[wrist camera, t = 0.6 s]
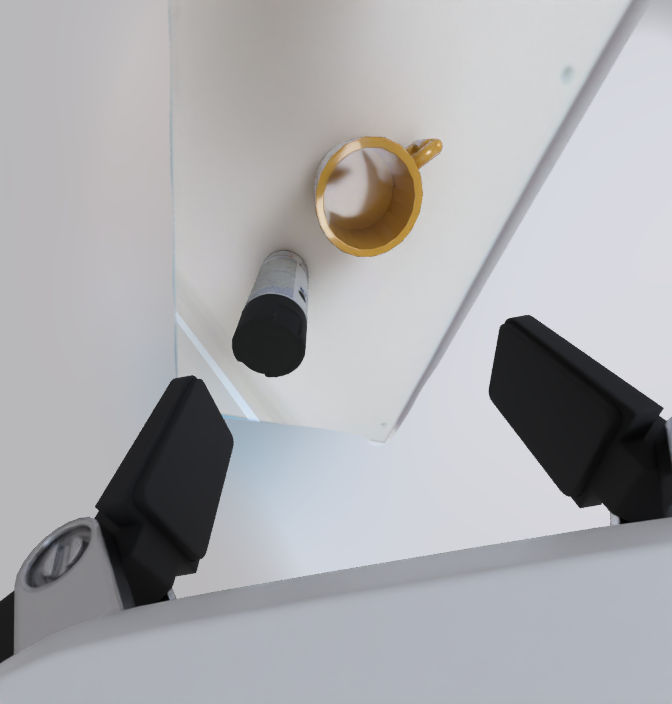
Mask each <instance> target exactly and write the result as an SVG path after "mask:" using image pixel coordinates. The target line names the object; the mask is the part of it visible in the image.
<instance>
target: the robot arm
mask: <svg viewBox="0 0 672 704" xmlns="http://www.w3.org/2000/svg"><path fill="white" fill-rule="evenodd" d="M489 396H490V399H491V400H492V402H493V403H494V405H495V406H496V407H497V408H498V410H499V411H500V412H501V414H502V415H503V416H504V418H505V419H506V420H507V422H508V423H509V424H510V425H511V427H512V428H513V429H514V431H515V432H516V433H517V435H518V436H519V437H520V438H521V440H522V441H523V442H524V444H525V445H526V446H527V448H528V449H529V450H530V452H531V453H532V454H533V455H534V457H535V458H536V459H537V461H538V462H539V463H540V465H541V466H542V467H543V468H544V470H545V471H546V472H547V474H548V475H549V476H550V478H551V479H552V480H553V481H554V483H555V484H556V485H557V487H558V488H559V489H560V490H561V491H562V492H563V494H565V495H566V496H571V498H572V499H573V500H574V501H575V502H576V504H577V505H578V506H579V508H584V507H589V506H596V505H601V503H603V504H604V505H605V506H606V507H607V508H608V510H609V511H610V526H606V527H599V528H593V529H588V530H580V531H574V532H568V533H562V534H557V535H550V536H543V537H537V538H531V539H525V540H519V541H513V542H507V543H501V544H494V545H488V546H482V547H476V548H470V549H464V550H458V551H452V552H446V553H440V554H434V555H428V556H422V557H416V558H410V559H404V560H398V561H392V562H386V563H380V564H374V565H368V566H362V567H356V568H350V569H345V570H338V571H332V572H327V573H321V574H315V575H309V576H303V577H298V578H292V579H287V580H280V581H274V582H269V583H263V584H257V585H251V586H246V587H240V588H234V589H228V590H222V591H217V592H211V593H206V594H201V595H196V596H190V597H186V598H180V599H176V597H175V594H174V592H173V589H172V586H173V583H174V580H175V577H176V576H181V575H187V574H193V573H196V571H197V567H198V563H199V560H200V559H202V558H203V557H204V556H205V554H206V551H207V547H208V544H209V540H210V536H211V532H212V528H213V524H214V520H215V516H216V512H217V508H218V504H219V500H220V496H221V492H222V488H223V484H224V481H225V477H226V472H227V469H228V465H229V461H230V457H231V453H232V449H233V437H232V434H231V432H230V430H229V429H228V427H227V425H226V423H225V421H224V419H223V417H222V415H221V413H220V412H219V410H218V408H217V406H216V404H215V402H214V400H213V398H212V396H211V395H210V393H209V391H208V389H207V387H206V385H205V383H204V382H203V380H202V379H197V378H196V377H195V376H193V375H191V376H186V377H180V378H175V379H173V380H172V381H171V382H170V384H169V386H168V387H167V389H166V391H165V392H164V394H163V395H162V397H161V399H160V401H159V402H158V404H157V405H156V407H155V409H154V410H153V412H152V414H151V415H150V417H149V419H148V420H147V422H146V423H145V425H144V427H143V428H142V430H141V432H140V433H139V435H138V437H137V438H136V440H135V442H134V444H133V445H132V447H131V448H130V450H129V451H128V453H127V455H126V456H125V458H124V460H123V461H122V463H121V465H120V466H119V468H118V470H117V471H116V473H115V475H114V476H113V478H112V479H111V481H110V483H109V484H108V486H107V488H106V489H105V491H104V493H103V495H102V496H101V498H100V499H99V501H98V503H97V504H96V506H95V507H96V508H97V509H98V510H99V512H98V514H97V515H96V517H95V518H94V519H93V518H90V517H86V518H78V519H76V520H73V521H70V522H68V523H66V524H65V525H63V526H61V527H59V528H58V529H56V530H55V531H53V532H52V533H51V534H49V535H48V536H47V537H46V538H44V539H43V540H42V541H41V542H40V543H39V544H38V545H37V546H36V547H35V548H34V549H33V551H32V552H31V553H30V554H29V556H28V557H27V558H26V560H25V561H24V562H23V564H22V566H21V568H20V570H19V572H18V574H17V577H16V582H15V590H14V591H13V592H12V593H10V594H9V595H8V596H7V597H5V598H4V599H3V600H1V601H0V704H672V417H671V418H670V419H669V420H667V421H666V420H664V419H663V418H661V417H660V416H659V414H660V413H661V411H662V410H663V407H661V406H660V405H658V404H657V403H656V402H654V401H653V400H651V399H650V398H648V397H647V396H646V395H644V394H643V393H641V392H639V391H638V390H637V389H635V388H634V387H632V386H631V385H630V384H628V383H627V382H625V381H624V380H623V379H621V378H620V377H618V376H617V375H615V374H614V373H612V372H611V371H610V370H608V369H607V368H605V367H604V366H602V365H601V364H600V363H598V362H597V361H595V360H594V359H592V358H591V357H590V356H588V355H587V354H585V353H584V352H582V351H581V350H579V349H578V348H577V347H575V346H574V345H572V344H571V343H569V342H568V341H567V340H565V339H564V338H562V337H561V336H559V335H558V334H556V333H555V332H554V331H552V330H551V329H549V328H548V327H546V326H545V325H544V324H542V323H541V322H539V321H538V320H536V319H535V318H534V317H532V316H530V315H525V316H519V317H514V318H509V319H507V320H506V322H505V324H503V325H501V326H500V329H499V335H498V340H497V346H496V351H495V357H494V363H493V368H492V374H491V380H490V385H489Z"/></svg>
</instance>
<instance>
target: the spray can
mask: <svg viewBox="0 0 672 704" xmlns="http://www.w3.org/2000/svg"><path fill="white" fill-rule="evenodd" d="M307 303H308V271H307V266H306V264H305V263H304V261H303V260H302V259H301V258H300V257H299V256H298V255H296V254H294V253H292V252H290V251H278V252H275V253H273V254H271V255H270V256H268V257H267V258H266V260H265V261H264V263H263V265H262V267H261V270H260V272H259V274H258V277H257V279H256V282H255V284H254V286H253V289H252V291H251V293H250V296H249V298H248V301H247V303H246V305H245V308H244V310H243V311H242V315H241V317H240V320H239V323H238V326H237V328H236V331H235V333H234V336H233V339H232V349H233V353H234V356H235V358H236V359H237V360H238V361H240V362H243V363H244V364H245V365H246V366H247V367H248V368H250V369H251V370H253V371H256V372H258V373H262V374H265V376H267V377H278V376H283V375H286V374H289V373H291V372H292V371H294V370H295V369H296V368H297V367H298V366H299V365H300V364H301V362H302V360H303V358H304V356H305V348H306V332H307Z"/></svg>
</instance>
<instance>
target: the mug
mask: <svg viewBox="0 0 672 704" xmlns="http://www.w3.org/2000/svg"><path fill="white" fill-rule="evenodd" d="M442 147H443V144H442V142H441V140H439V139H423V140H416V141H414V142H413V143H412V144H411V145H409V146H408V147H407V148H406V149H404V148H403V147H402V146H401V145H400V144H398V143H396V142H393V141H391V140H389V139H387V138H385V137H360V138H354V139H350V140H348V141H345V142H342V143H340V144H338V145H337V146H335V147H334V148H333V149H331V150H330V151H329V152H328V153H327V154H326V156H325V157H324V158H323V160H322V162H321V163H320V165H319V167H318V170H317V173H316V177H315V181H314V199H315V208H316V214H317V217H318V220H319V223H320V227H321V228H322V231H323V232H324V233H325V235H326V236H327V238H328V239H329V241H330V242H331V243H332V244H333V245H335V246H336V247H337V248H339V249H340V250H341V251H343V252H345V253H348V254H351V255H354V256H358V257H372V256H376V255H379V254H382V253H385V252H388V251H389V250H391V249H392V248H394V247H395V246H397V245H398V244H400V243H401V242H402V241H403V240H404V238H405V237H406V236H407V235H408V234H409V232H410V231H411V230H412V228H413V226H414V224H415V222H416V220H417V217H418V215H419V212H420V208H421V202H422V196H423V191H422V182H421V176H420V172H419V170H418V169H420V168H421V167H422V166H424V165H425V164H426V163H428V162H429V161H430V160H432V159H433V158H434V157H436V156H437V155H438V154H439V153H440V152H441V151H442Z"/></svg>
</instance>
